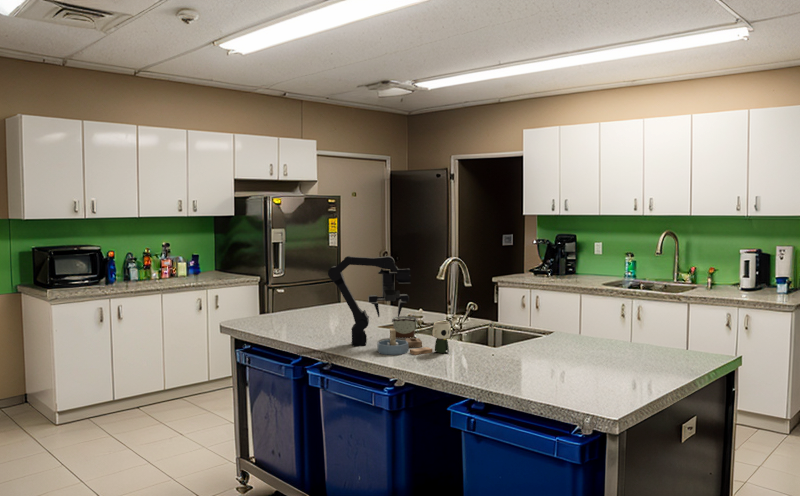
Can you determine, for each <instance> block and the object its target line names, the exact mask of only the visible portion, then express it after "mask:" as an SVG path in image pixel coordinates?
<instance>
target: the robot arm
mask: <svg viewBox="0 0 800 496" xmlns="http://www.w3.org/2000/svg"><path fill="white" fill-rule="evenodd" d="M395 263H396V262H395V259H394V258H393V256H389V255H386V256H380V257H368V256H367V257H365V256H363V257H362V256H351V255H347V256H346V257H344V258H343V260H342V261H340V262H339V263H338V264H337V265H336V266H335V265H333V266H331V267H330V268H329V269H328V271H327V276H328V277H329V279H330V280H331V281H332V283H333V284H334V285H335V286H336V287H337V288H338V290H339V291H340V294H341V296H342V298H344V300H345V302H346V304H347V305H348V307H349V309H350V312H351V313H352V316H353V320H354V324H353V325H352V327H351V342H350V344H351V346H352V347H353V346H354V347H357V346H358V347H359V346H360V347H362V346H363V347H364V346H366V345H367V343H368V341H367V339H368V337H367V336H368V335H367V334H366V330H365V329H366V328H367V327H368V326H369V323H370V316H369V315H368V313H367V311H366V309H363V310H362V308H360V306H359V304H358V302H357V301H356V299H355V298H354V294H352V292H351V290H350V289H349V286H348V285H347V282H346V280H345V277H344V274H343V271H344V270H345V269H347V267H349V266H366V267H367V266H368V267H376V268H380V270H379V271H378V272H377V274H378V275H382V276H381V280H382V281H381V284H382V291H381V292H382V296H378V295H377V294H369V295H368V296H367V301H368V303H370V304H371V305H373V306H374V308H375V310H376V311H375V312H376V314H377V317H378V318H380V310H379V309H380V307H379V302H378V301H385V302H396V301H398V304H397V305H398V306H397V307H398V308H397V317H399V316H400V315H401V311H402V309H403V306H404V305H405V304H407V302H408V303H409V302H410V296H409V295H408V294H407V293H406V294H405V293H402V294H401V291H400V290H398V289H395V282H397V283H398V284H411V269H410V268H398V266H397V265H396V264H395Z"/></svg>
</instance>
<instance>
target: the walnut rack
mask: <svg viewBox="0 0 800 496" xmlns="http://www.w3.org/2000/svg"><path fill="white" fill-rule="evenodd" d="M404 341H407V342H408V345H409V348H410V349H412V348H423V341H422V340H421V339H420V337H416V338H415V337H414V338H404Z"/></svg>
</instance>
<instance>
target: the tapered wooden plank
mask: <svg viewBox="0 0 800 496" xmlns="http://www.w3.org/2000/svg"><path fill="white" fill-rule="evenodd" d="M433 351H434V350H433V348H431V347H427V346H425V347H416V348H410V349H409V354H411V355H414V356H419V355H425V354H432V353H433Z"/></svg>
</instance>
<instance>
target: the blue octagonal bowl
mask: <svg viewBox="0 0 800 496" xmlns="http://www.w3.org/2000/svg"><path fill="white" fill-rule="evenodd" d="M376 349H377V352H378V353H379V354H382V355H387V356H399V355H405V354H407V353H408V352H410V349H409V345H408V342H407V341H405V339H402V340H401V339H398V338H396V345H395V346H390V339H382V340H378V341H377V343H376Z"/></svg>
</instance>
